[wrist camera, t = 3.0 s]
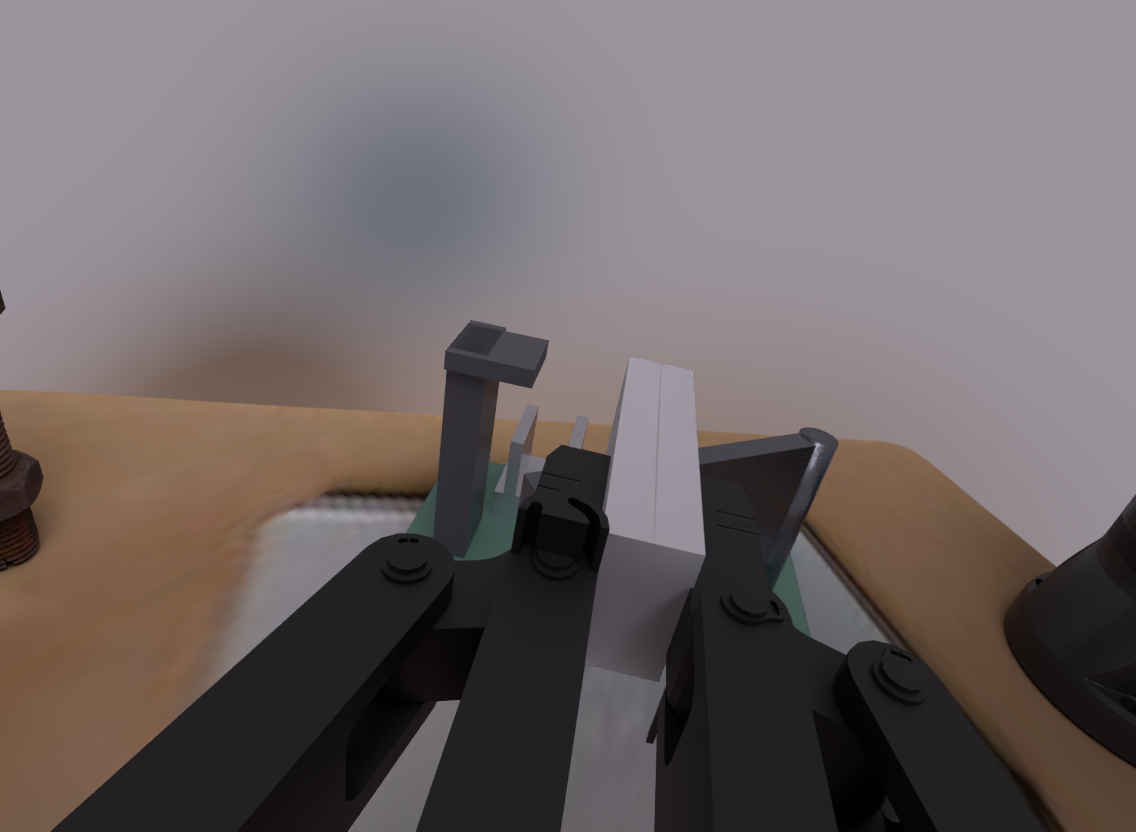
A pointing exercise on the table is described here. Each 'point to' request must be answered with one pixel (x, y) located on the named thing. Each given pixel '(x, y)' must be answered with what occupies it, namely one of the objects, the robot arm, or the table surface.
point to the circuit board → (499, 533)
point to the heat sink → (525, 462)
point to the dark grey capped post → (475, 421)
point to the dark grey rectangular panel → (764, 484)
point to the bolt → (17, 498)
